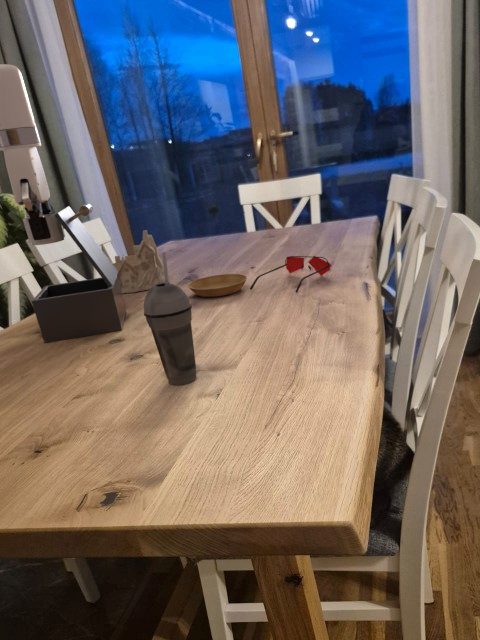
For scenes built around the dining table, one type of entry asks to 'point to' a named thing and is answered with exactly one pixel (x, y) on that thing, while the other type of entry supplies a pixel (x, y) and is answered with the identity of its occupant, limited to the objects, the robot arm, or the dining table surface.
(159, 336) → the beverage cup
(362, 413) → the dining table surface
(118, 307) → the dark grey open box
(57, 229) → the ceramic bowl
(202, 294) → the plant saucer
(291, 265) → the glasses
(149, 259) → the ceramic cottage
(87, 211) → the grey box lid
